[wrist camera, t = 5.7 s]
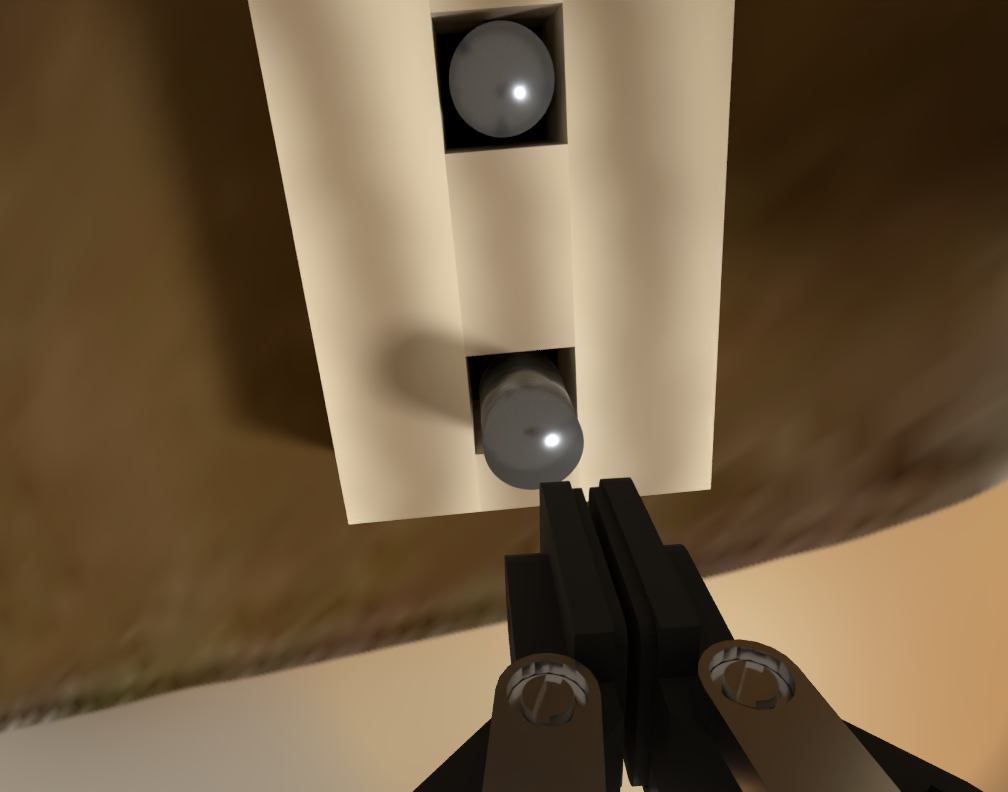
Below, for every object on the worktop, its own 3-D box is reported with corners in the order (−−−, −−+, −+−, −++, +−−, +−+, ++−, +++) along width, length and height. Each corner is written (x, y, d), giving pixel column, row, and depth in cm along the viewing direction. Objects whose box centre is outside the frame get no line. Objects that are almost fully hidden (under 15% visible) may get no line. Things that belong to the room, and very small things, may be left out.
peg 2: (560, 345, 28) (582, 394, 23) (563, 422, 30) (585, 484, 25) (475, 353, 28) (479, 404, 23) (482, 430, 30) (487, 494, 25)
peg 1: (534, 36, 27) (552, 16, 22) (539, 130, 29) (556, 132, 24) (446, 42, 27) (443, 25, 22) (455, 137, 29) (454, 141, 23)
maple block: (682, -65, 27) (740, -112, 21) (670, 431, 35) (710, 489, 30) (280, -35, 26) (233, -76, 21) (366, 460, 35) (348, 524, 29)
